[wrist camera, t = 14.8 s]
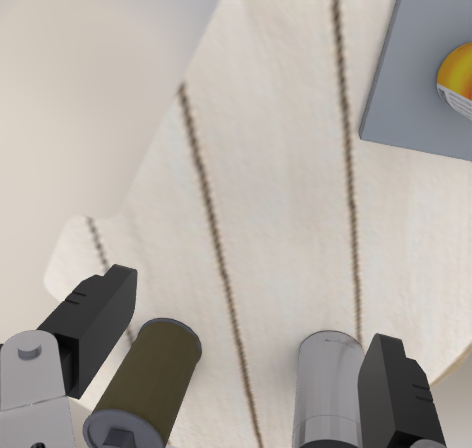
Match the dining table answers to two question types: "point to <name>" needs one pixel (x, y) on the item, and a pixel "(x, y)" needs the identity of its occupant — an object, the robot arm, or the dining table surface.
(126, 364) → the canister
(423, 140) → the stand
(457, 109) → the beer can
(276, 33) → the dining table surface
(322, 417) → the robot arm
